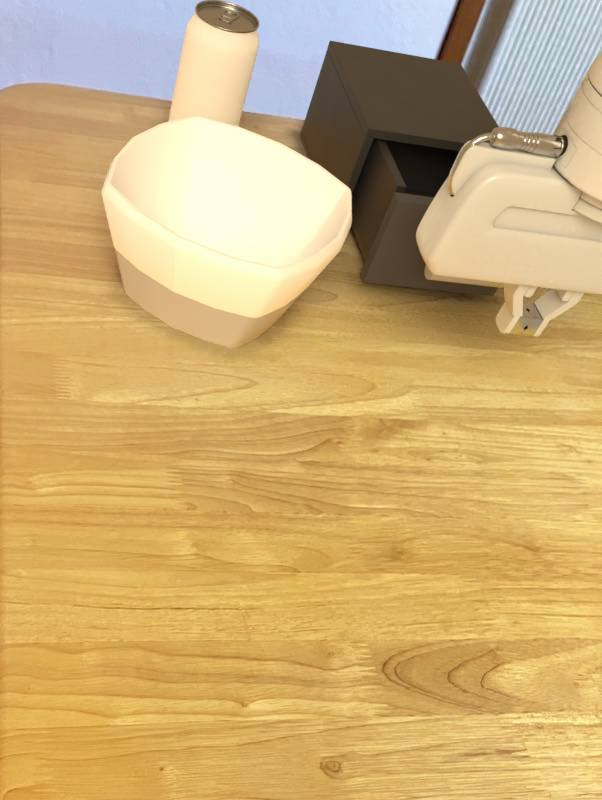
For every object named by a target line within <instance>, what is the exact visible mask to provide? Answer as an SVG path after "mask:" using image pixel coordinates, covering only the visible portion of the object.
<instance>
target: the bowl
mask: <svg viewBox="0 0 602 800" xmlns="http://www.w3.org/2000/svg"><path fill="white" fill-rule="evenodd" d="M101 187H102V188H101V191H100V193H101V198H102V202H103V207H104V210H105V216H106V221H107V225H108V229H109V233H110V238H111V242H112V246H113V248H114V252H115V258H116V261H117V266H118V270H119V274H120V279H121V284H122V287H123V291H124V293H125V294H126V296H127V297H128V298H130V299H131V301H133V302H134V303H136V305H138V306H139V307H140V308H141V309H142V310H144V311H145V312H147V313H148V314H150V315H152V316H153V317H154V318H156V319H157V320H159V321H161V322H162V323H164V324H166V325H167V326H169V327H170V328H172V329H175V330H177V331H180V332H182V333H185V334H187V335H189V336H192V337H195V338H197V339H200V340H201V341H204V342H207V343H211V344H214V345H218V346H222V347H224V348H228V349H238V348H241V347H243V346H245V345H247V344H248V343H251V342H253V341H254V340H256V339H258V338H259V337H261V335H263V334H264V333H265V332H267V331H268V330H269V329H270V328H272V326H274V325H275V324H276V323H277V322H278V321H279V320H280V318H282V316H283V315H284V314H285V313H286V311H287V310H288V309H289V308H290V307H291V306H292V305H293V304H294V303H295V301H297V300H298V298H299V297H300V296H301V295H302V294H303V293H304V292H305V291H306V290H307V289H308V288H309V287H310V285H311V284H312V283H313V282H314V281H315V280H316V279H317V278H318V277H319V275H321V273H322V272H323V271H324V270H325V269H326V267H328V265H329V264H330V263H331V262H332V261H333V260H334V259H335V258H336V256H337V255H338V254H339V253H340V252H341V250H342V248H343V246H344V244H345V241H346V239H347V237H348V234H349V232H350V230H351V229H350V228H351V224H352V194H351V190H350V188H349V187H348V186H346V185H345V184H344V183H342V182H341V181H340V180H339V179H337V178H336V177H335V176H333V175H332V174H331V173H329V172H328V171H327V170H326V169H324V168H323V167H322V166H320V165H319V164H317V163H315V162H313V161H312V160H310V159H308V158H307V156H304V155H303V154H301V153H299V152H297V151H295V150H294V149H292V148H290V147H289V146H287V145H285V144H284V143H281V142H279V141H277V140H273V139H271V138H269V137H267V136H263V135H261V134H259V133H256V132H254V131H251V130H248V129H245V128H243V127H241V126H235V125H231V124H227V123H224V122H220V121H216V120H212V119H209V118H205V117H201V116H190V117H186V118H182V119H177V120H173V121H169V122H168V121H166V122H165V121H164V122H161V123H159V124H157V125H155V126H153V127H151V128H149V129H147V130H145V131H143V132H141V133H138V134H136V135H134V136H132V137H131V138H130V140H129V141H128V142H127V143H126V145H124V146H123V147H122V149H121V150H120V151H119V152H118V153H117V154H116V156H115V157H114V158H113V159H112V160H111V162H110V164H109V166H108V169H107V173H106V176H105V179H104V182H103V184H102V186H101Z"/></svg>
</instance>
